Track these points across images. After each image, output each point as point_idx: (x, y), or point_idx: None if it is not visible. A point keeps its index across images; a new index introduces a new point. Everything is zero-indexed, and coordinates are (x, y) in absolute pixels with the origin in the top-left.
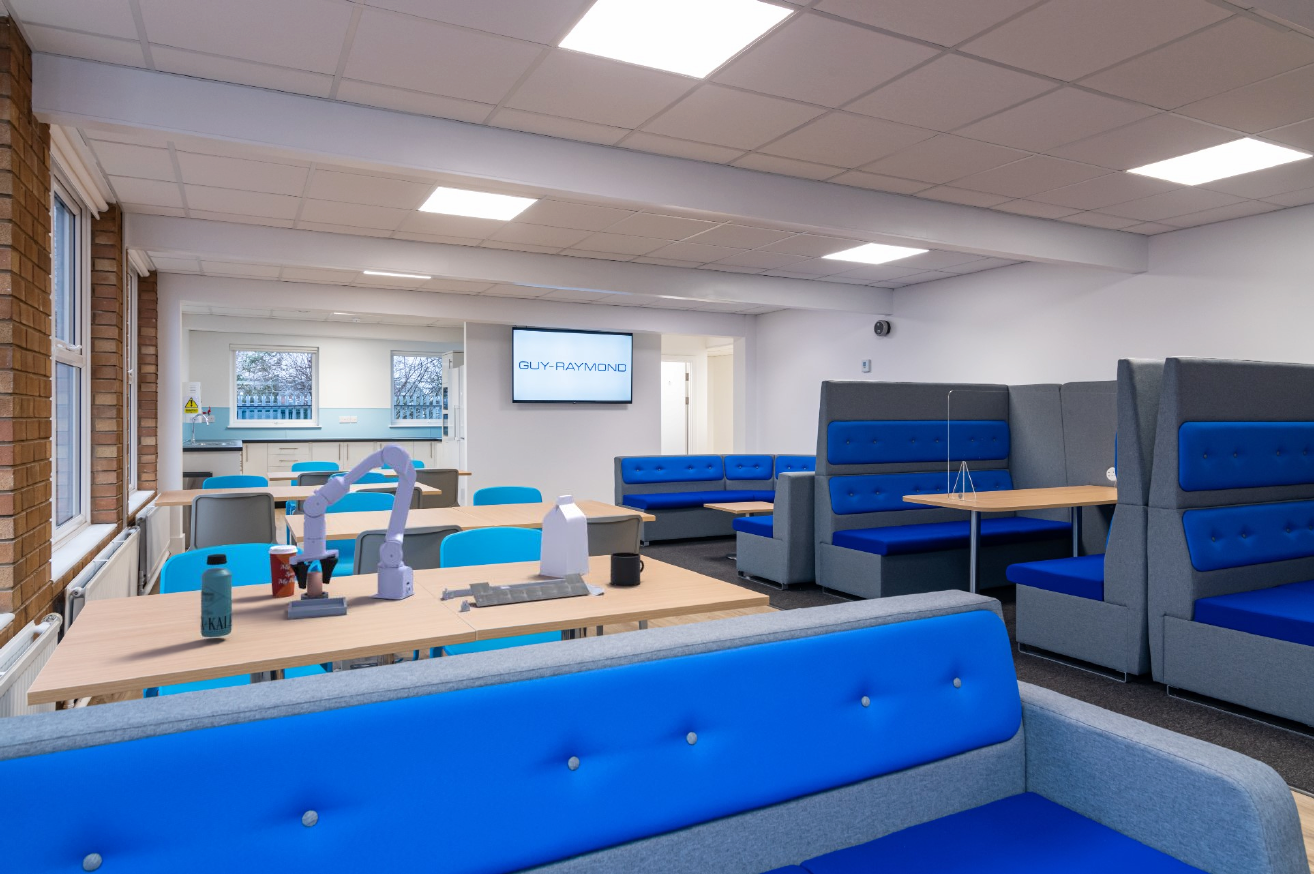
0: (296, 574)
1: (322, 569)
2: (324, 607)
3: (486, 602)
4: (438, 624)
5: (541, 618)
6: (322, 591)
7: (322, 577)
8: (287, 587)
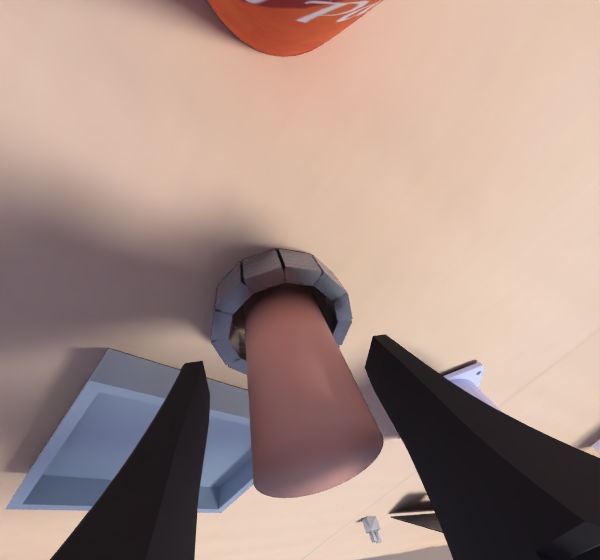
0: (116, 503)
1: (445, 416)
2: (215, 431)
3: (407, 517)
4: (280, 554)
5: (367, 553)
6: (345, 311)
7: (395, 363)
8: (265, 29)
